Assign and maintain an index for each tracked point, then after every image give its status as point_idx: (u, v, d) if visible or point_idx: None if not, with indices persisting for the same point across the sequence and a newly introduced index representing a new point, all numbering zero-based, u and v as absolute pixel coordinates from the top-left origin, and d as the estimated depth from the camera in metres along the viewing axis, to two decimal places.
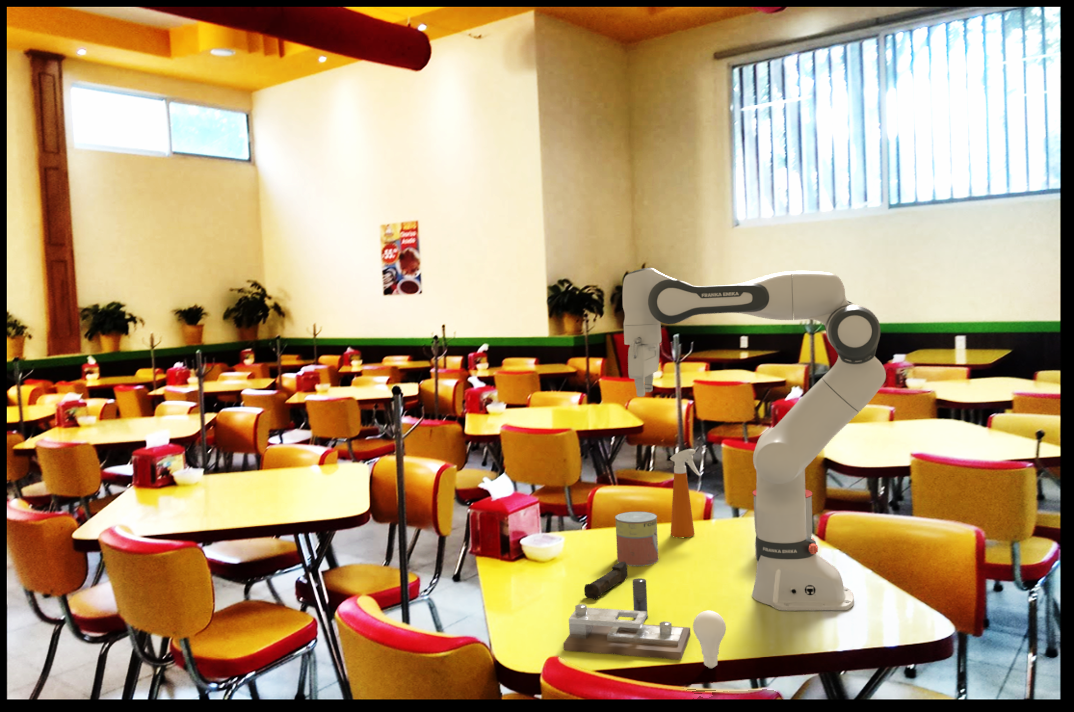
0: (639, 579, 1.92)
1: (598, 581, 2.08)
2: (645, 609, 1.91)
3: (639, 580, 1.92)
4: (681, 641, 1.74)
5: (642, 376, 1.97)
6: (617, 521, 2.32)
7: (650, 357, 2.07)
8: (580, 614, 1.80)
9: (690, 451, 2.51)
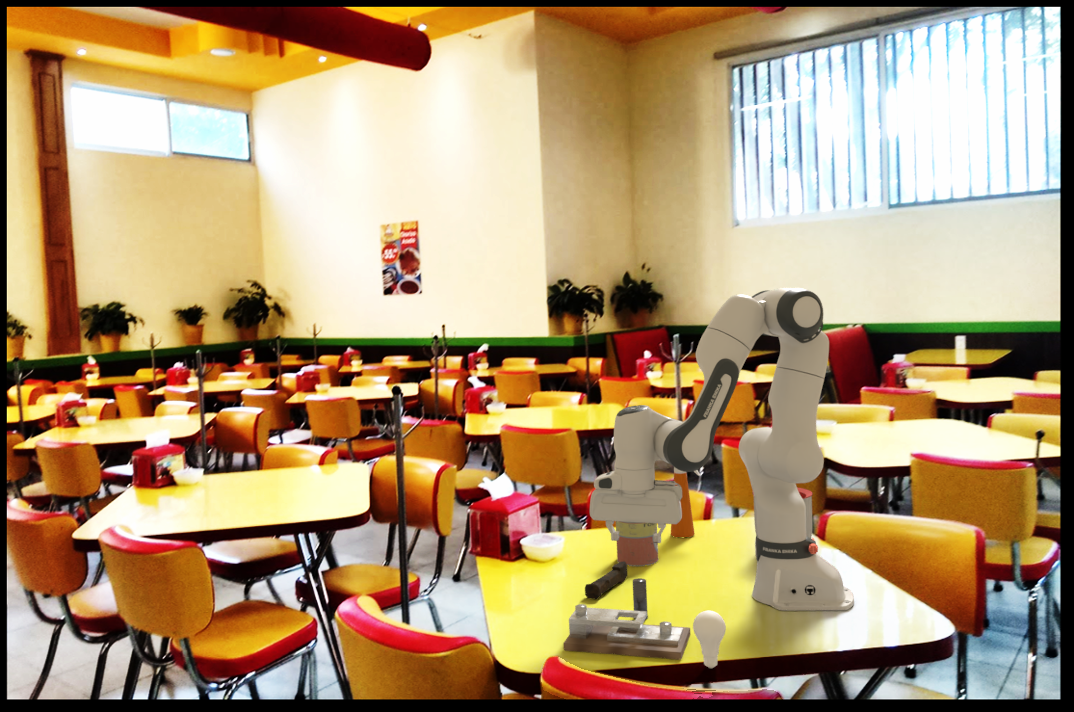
0: (639, 579, 1.92)
1: (598, 581, 2.08)
2: (645, 609, 1.91)
3: (639, 580, 1.92)
4: (681, 641, 1.74)
5: None
6: (617, 521, 2.32)
7: None
8: (580, 614, 1.80)
9: None
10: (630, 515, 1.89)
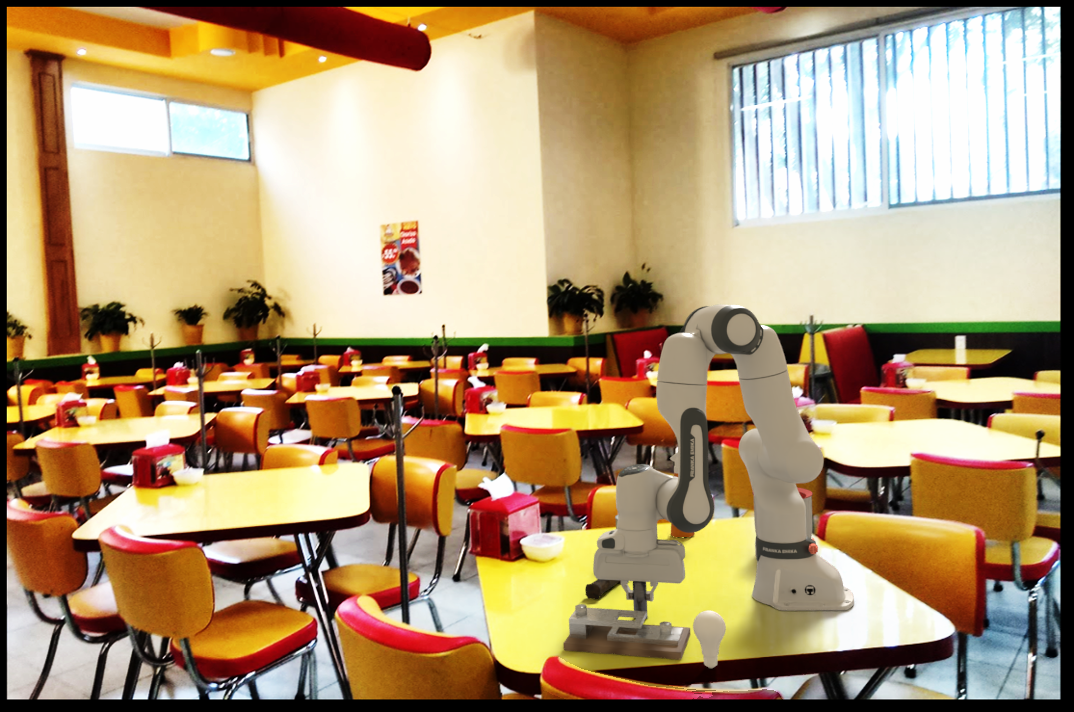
0: None
1: (599, 581, 2.08)
2: (645, 609, 1.91)
3: None
4: (681, 641, 1.74)
5: None
6: (617, 521, 2.32)
7: None
8: (580, 614, 1.80)
9: None
10: (634, 574, 1.90)
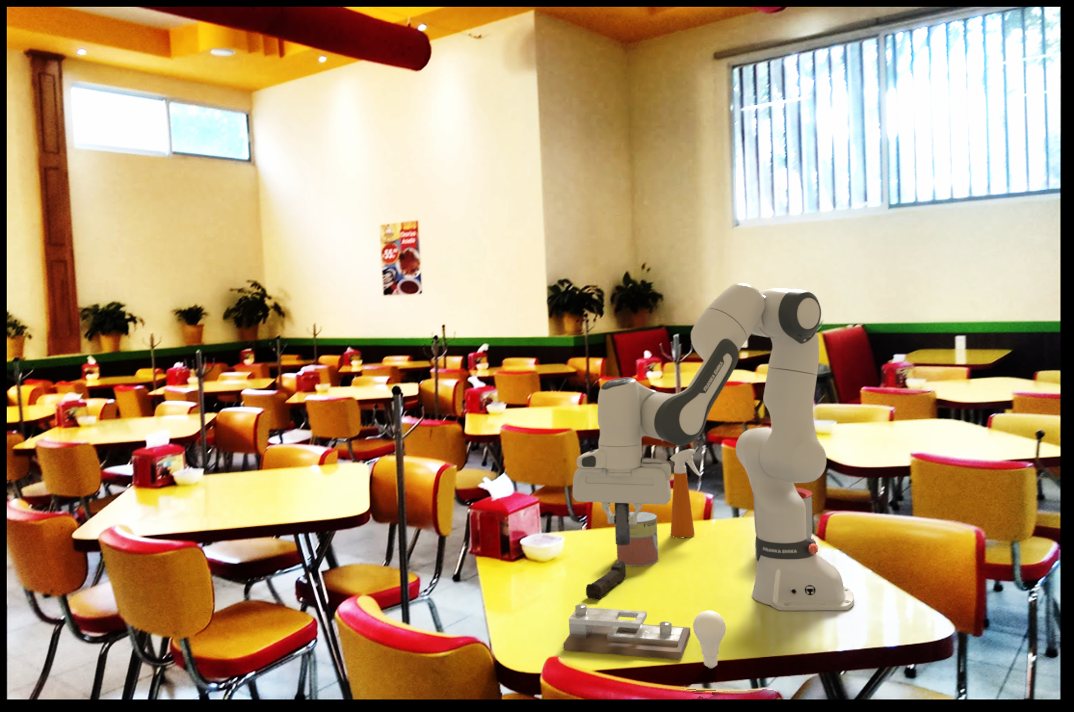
0: None
1: (599, 581, 2.08)
2: (627, 533, 1.77)
3: None
4: (681, 641, 1.74)
5: None
6: None
7: None
8: (580, 614, 1.80)
9: (690, 451, 2.51)
10: (616, 495, 1.76)
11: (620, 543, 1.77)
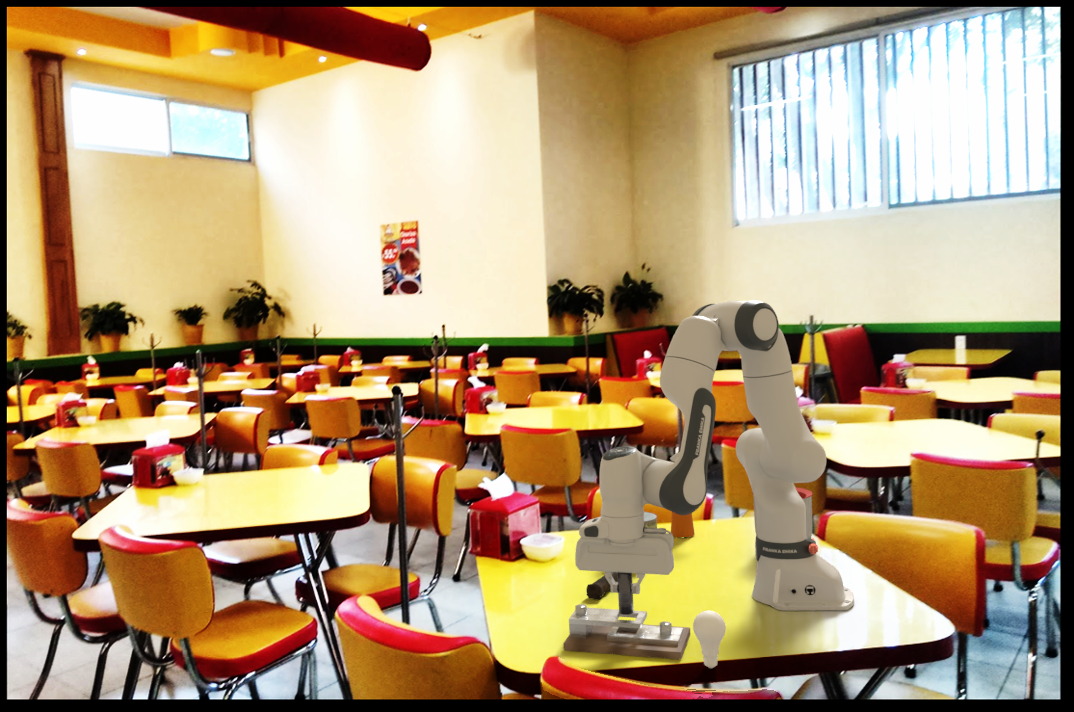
0: None
1: (600, 581, 2.08)
2: (631, 602, 1.77)
3: None
4: (681, 641, 1.74)
5: None
6: None
7: None
8: (580, 614, 1.80)
9: None
10: (619, 565, 1.76)
11: (623, 612, 1.77)
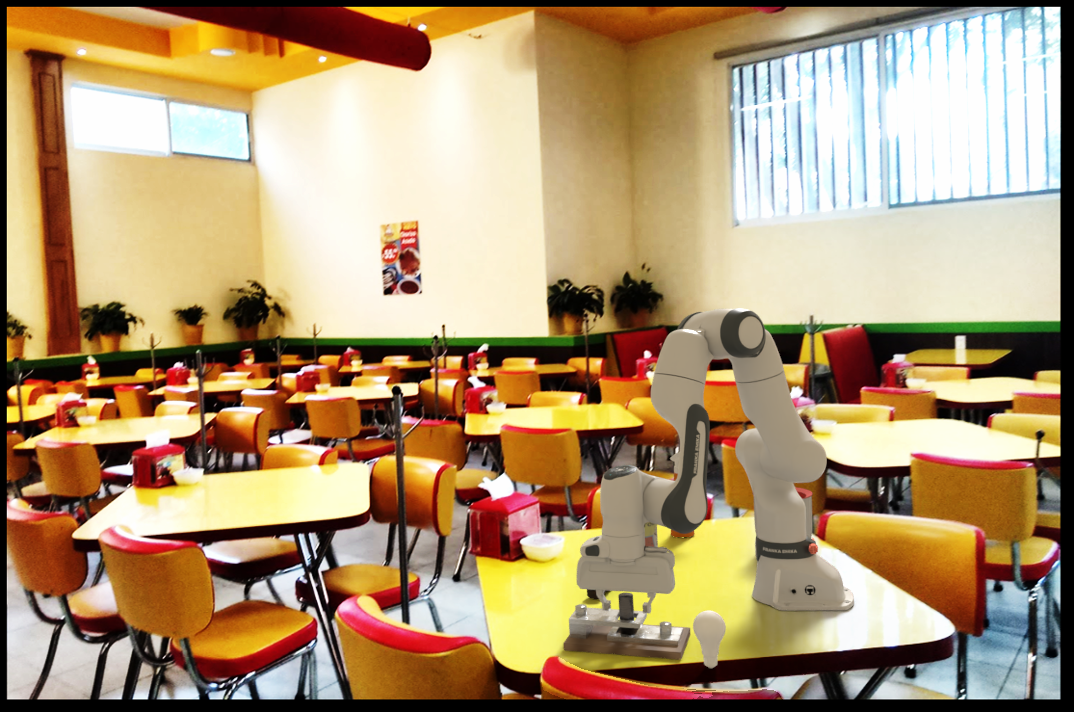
0: (625, 594, 1.78)
1: None
2: None
3: (626, 594, 1.78)
4: (681, 641, 1.74)
5: None
6: None
7: None
8: (580, 614, 1.80)
9: None
10: (620, 584, 1.76)
11: None
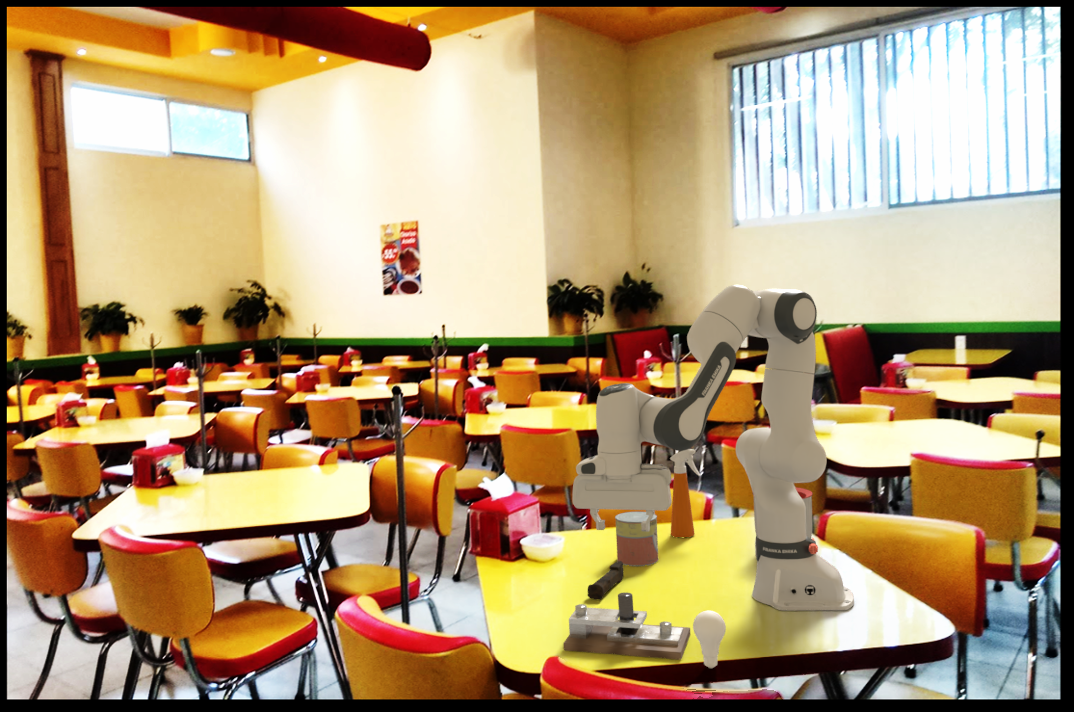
0: (625, 593, 1.79)
1: (600, 581, 2.08)
2: None
3: (625, 594, 1.78)
4: (681, 641, 1.74)
5: None
6: (617, 521, 2.32)
7: None
8: (580, 614, 1.80)
9: (690, 451, 2.51)
10: (616, 502, 1.75)
11: None
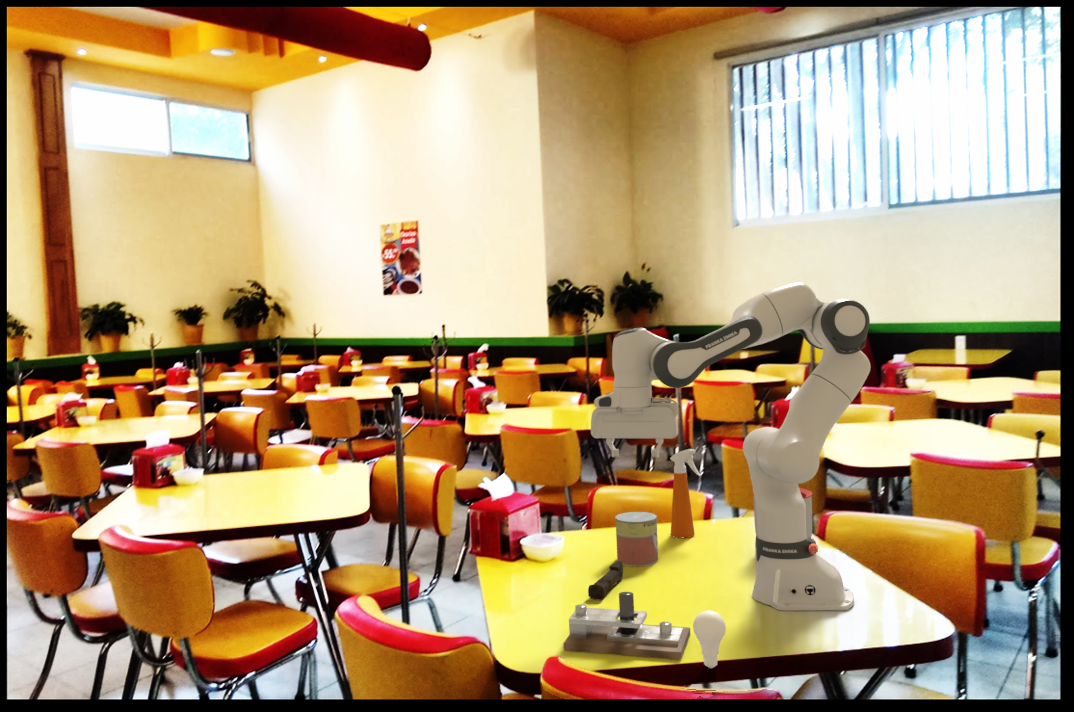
0: (626, 592, 1.79)
1: (601, 581, 2.08)
2: None
3: (626, 593, 1.79)
4: (681, 641, 1.74)
5: None
6: (617, 521, 2.32)
7: None
8: (580, 614, 1.80)
9: (690, 451, 2.51)
10: (629, 432, 1.99)
11: None
